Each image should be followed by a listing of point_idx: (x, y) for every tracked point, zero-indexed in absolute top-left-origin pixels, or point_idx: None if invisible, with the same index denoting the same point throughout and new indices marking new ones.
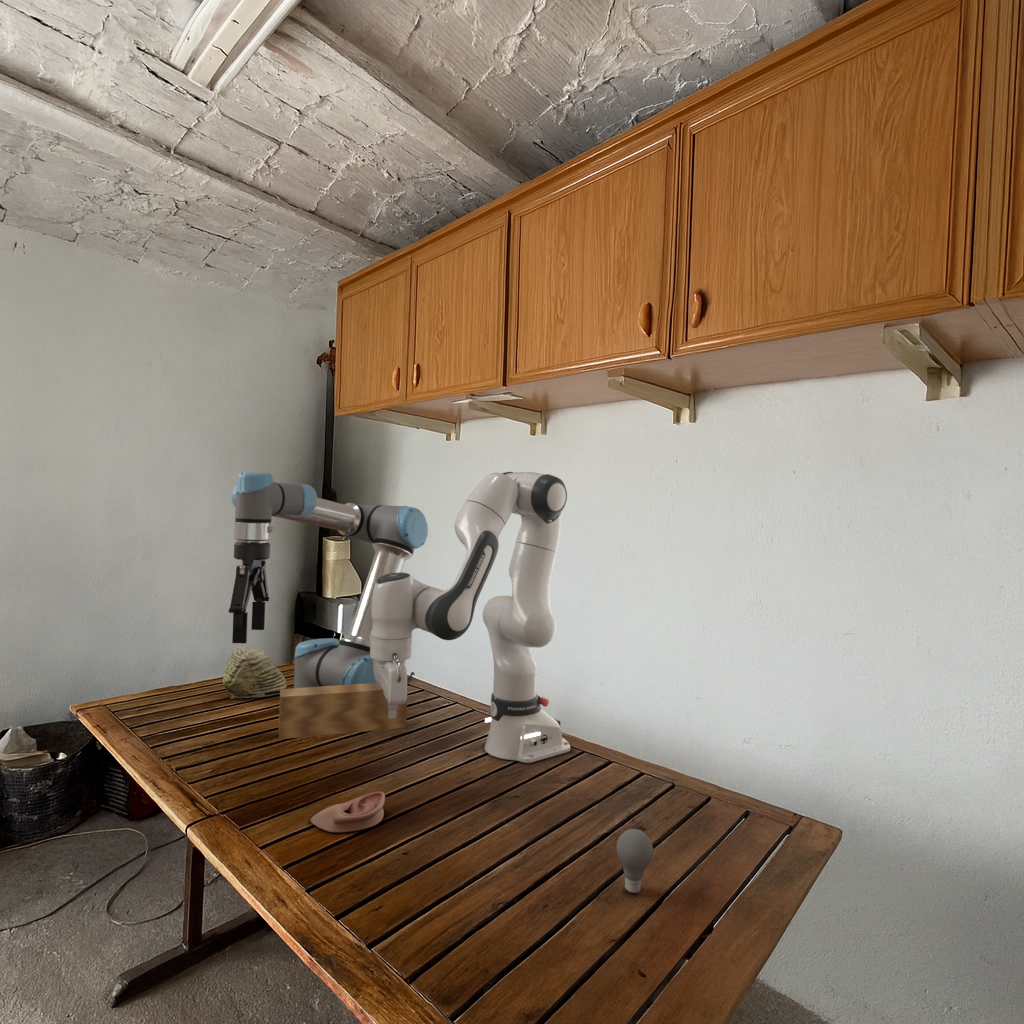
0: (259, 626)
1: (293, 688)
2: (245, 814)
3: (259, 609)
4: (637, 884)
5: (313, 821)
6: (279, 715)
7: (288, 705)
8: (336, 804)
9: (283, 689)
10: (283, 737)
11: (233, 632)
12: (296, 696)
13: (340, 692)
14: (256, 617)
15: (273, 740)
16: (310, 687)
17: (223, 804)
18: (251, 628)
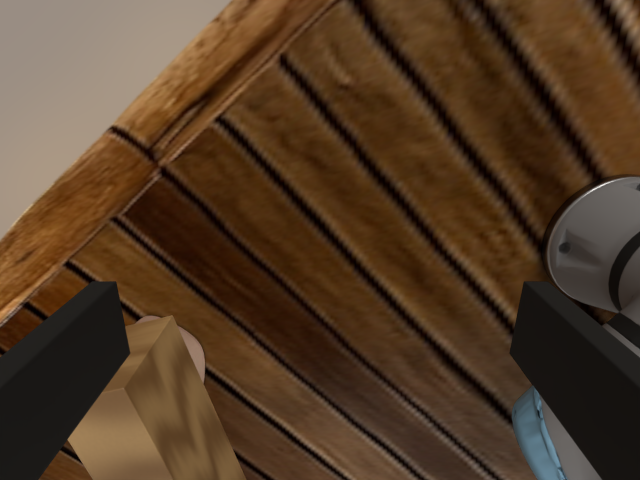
0: (526, 344)
1: (137, 420)
2: (162, 212)
3: (619, 451)
4: None
5: (139, 322)
6: (137, 344)
7: None
8: (190, 346)
9: (119, 398)
10: None
11: (47, 325)
12: (68, 439)
13: None
14: (573, 369)
15: (508, 172)
16: (156, 459)
17: (194, 162)
18: (528, 286)
